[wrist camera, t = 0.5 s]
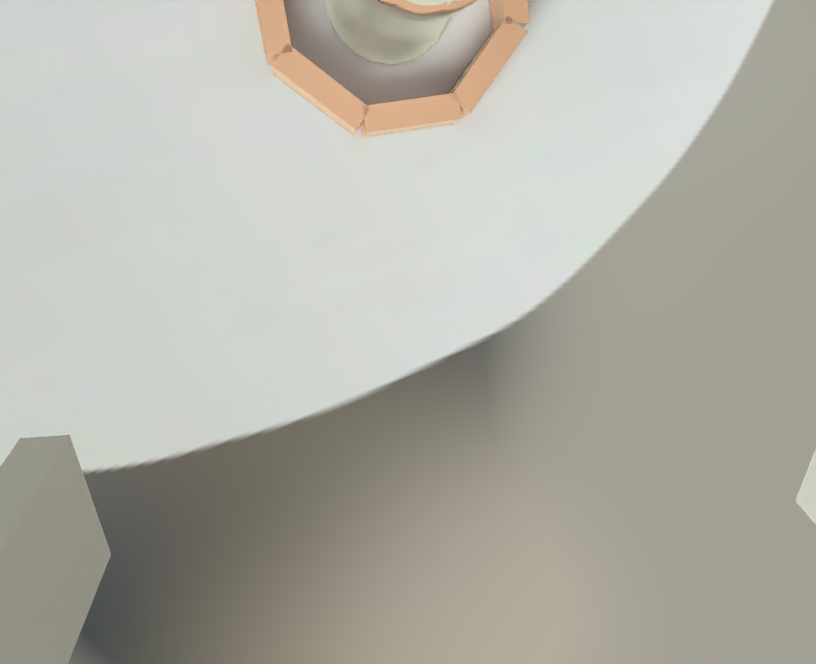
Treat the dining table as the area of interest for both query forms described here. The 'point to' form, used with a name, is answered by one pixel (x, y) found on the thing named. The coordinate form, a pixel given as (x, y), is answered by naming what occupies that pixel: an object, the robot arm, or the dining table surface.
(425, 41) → the beer glass
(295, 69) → the coaster ring
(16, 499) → the robot arm
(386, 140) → the dining table surface
